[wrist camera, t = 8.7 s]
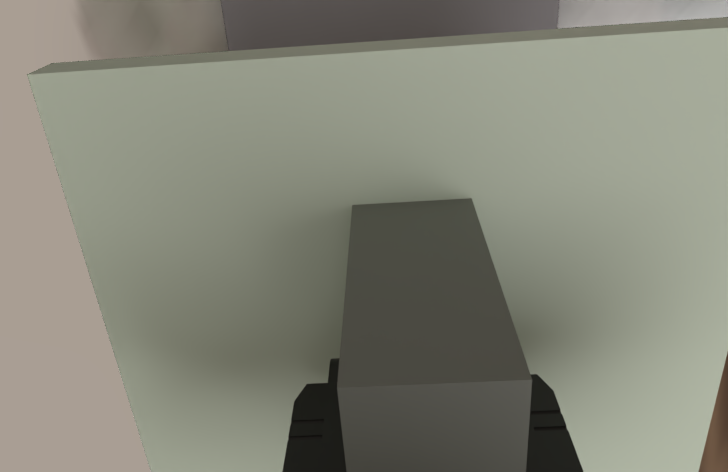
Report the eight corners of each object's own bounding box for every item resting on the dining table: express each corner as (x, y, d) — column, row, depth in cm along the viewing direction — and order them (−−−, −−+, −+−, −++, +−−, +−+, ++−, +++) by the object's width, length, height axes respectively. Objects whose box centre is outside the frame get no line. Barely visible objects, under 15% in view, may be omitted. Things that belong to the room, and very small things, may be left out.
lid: (73, 53, 13) (-229, 192, 7) (747, 7, 13) (1156, 110, 6) (197, 506, 20) (107, 809, 13) (650, 491, 19) (798, 802, 12)
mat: (219, -21, 26) (217, -20, 26) (559, -45, 25) (562, -45, 25) (266, 268, 33) (265, 272, 32) (538, 255, 32) (540, 259, 32)
